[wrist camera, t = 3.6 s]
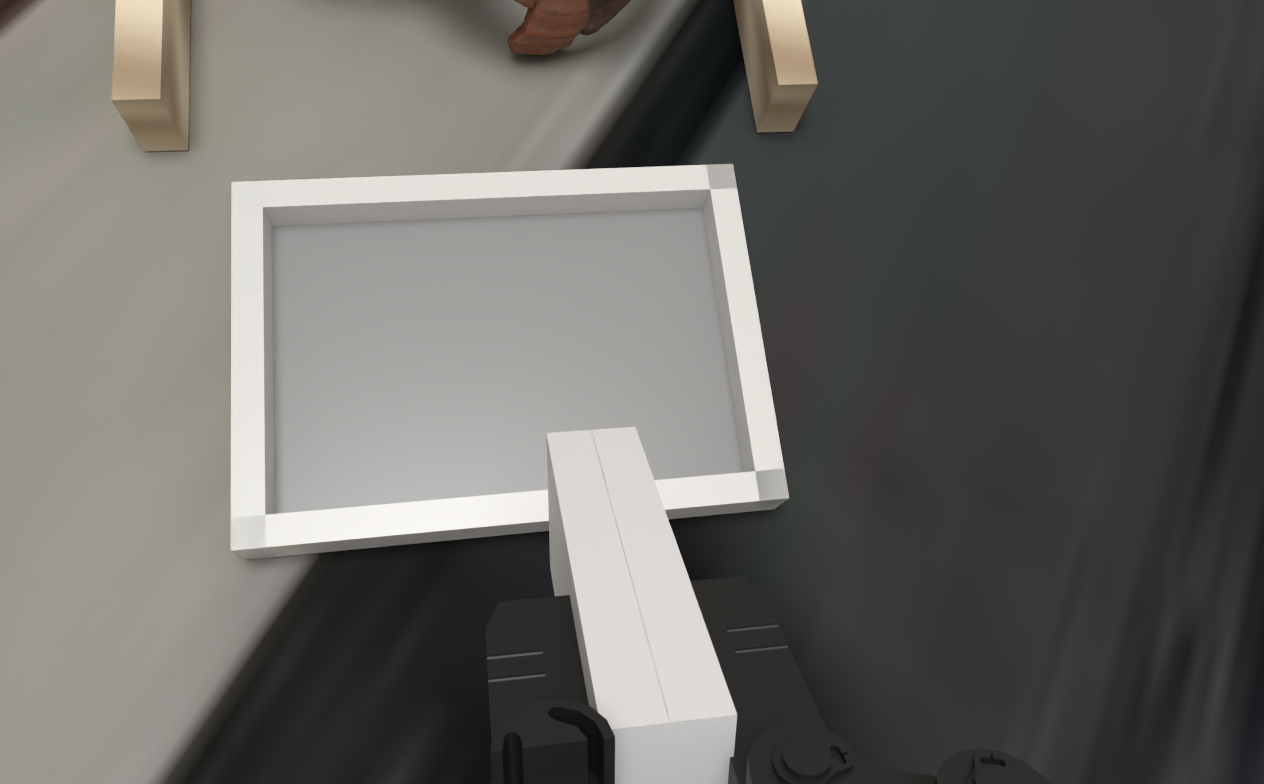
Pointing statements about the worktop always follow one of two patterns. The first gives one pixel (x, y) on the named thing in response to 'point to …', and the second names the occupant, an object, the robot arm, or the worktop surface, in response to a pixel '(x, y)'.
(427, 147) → the worktop surface
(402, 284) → the tray
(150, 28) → the guide channel
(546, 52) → the broken clay vessel
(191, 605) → the worktop surface
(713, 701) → the robot arm
